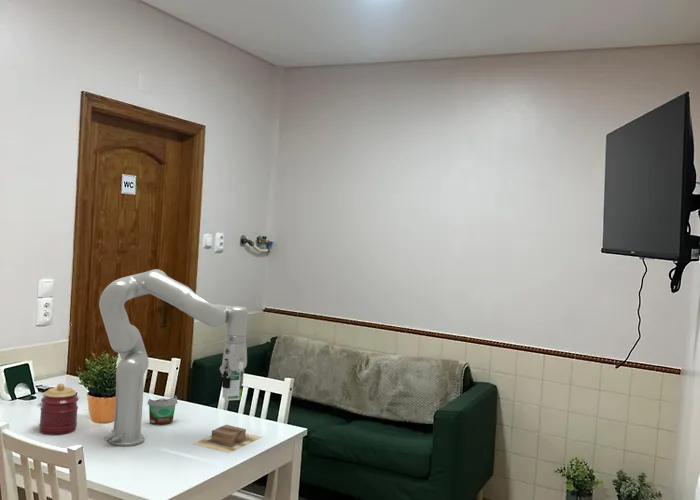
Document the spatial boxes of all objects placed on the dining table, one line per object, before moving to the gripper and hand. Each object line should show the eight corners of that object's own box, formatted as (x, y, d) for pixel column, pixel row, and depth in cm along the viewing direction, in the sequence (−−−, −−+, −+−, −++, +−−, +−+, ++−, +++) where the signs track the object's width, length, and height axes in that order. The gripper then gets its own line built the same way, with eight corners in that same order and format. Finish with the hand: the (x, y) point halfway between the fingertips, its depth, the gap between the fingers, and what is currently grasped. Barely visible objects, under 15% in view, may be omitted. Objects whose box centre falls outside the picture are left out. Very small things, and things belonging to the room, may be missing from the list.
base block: (231, 446, 236) (232, 435, 236) (211, 441, 240) (212, 430, 240) (245, 439, 244) (245, 429, 244) (225, 434, 248) (226, 424, 248)
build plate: (228, 456, 229) (229, 452, 229) (192, 447, 235) (192, 442, 235) (261, 440, 249) (262, 436, 249) (227, 431, 255) (227, 428, 255)
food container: (152, 427, 253) (154, 402, 253) (146, 423, 258) (147, 398, 258) (181, 423, 261) (183, 399, 261) (174, 419, 266) (176, 395, 266)
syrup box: (226, 401, 238) (229, 362, 237) (221, 396, 243) (224, 358, 243) (241, 400, 240) (244, 361, 240) (236, 396, 246) (239, 358, 245)
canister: (31, 429, 240) (34, 383, 240) (62, 422, 251) (65, 377, 251) (52, 438, 234) (55, 389, 233) (83, 430, 245) (87, 384, 244)
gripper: (230, 343, 232) (227, 392, 232) (256, 337, 247) (253, 383, 248) (213, 340, 235) (210, 388, 235) (240, 335, 251) (237, 380, 251)
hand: (232, 385), depth 242 cm, fingers closed on syrup box, 7 cm apart
